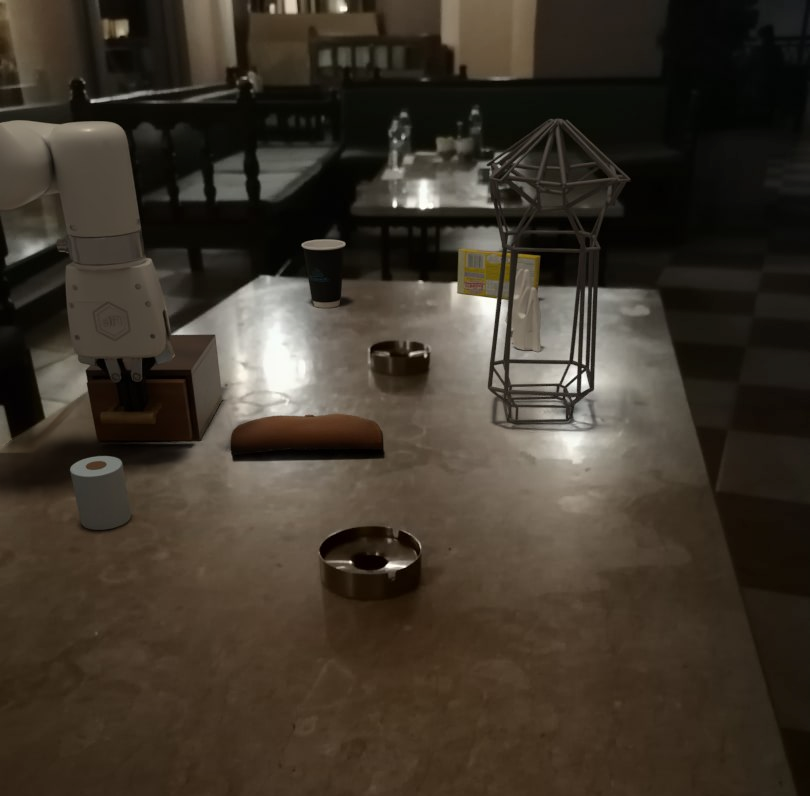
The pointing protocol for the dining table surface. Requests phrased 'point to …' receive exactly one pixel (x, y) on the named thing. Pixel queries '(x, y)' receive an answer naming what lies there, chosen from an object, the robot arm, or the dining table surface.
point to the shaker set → (525, 314)
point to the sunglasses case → (306, 434)
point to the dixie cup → (324, 271)
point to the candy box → (490, 272)
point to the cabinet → (188, 377)
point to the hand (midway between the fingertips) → (136, 410)
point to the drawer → (155, 422)
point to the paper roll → (101, 492)
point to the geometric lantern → (612, 195)
